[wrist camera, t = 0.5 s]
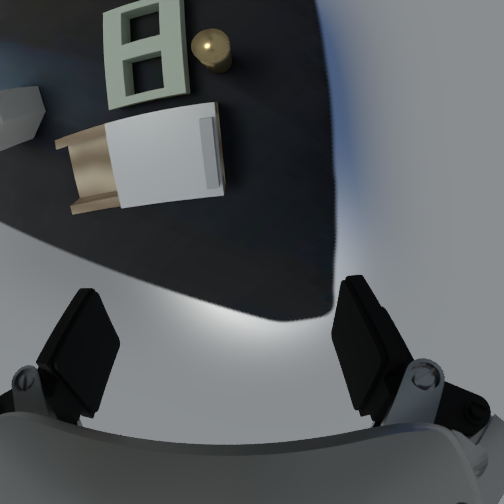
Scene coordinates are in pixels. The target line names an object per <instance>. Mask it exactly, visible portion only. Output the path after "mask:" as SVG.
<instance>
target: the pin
mask: <svg viewBox="0 0 504 504" xmlns="http://www.w3.org/2000/svg"><path fill="white" fill-rule="evenodd" d="M191 49H192V52H193V54H194V55H195V56H196V57H197V58H198V59H199V60H200V61H201V63H202V64H203V65H204V66H205V67H206V68H207V69H208V70H209V71H210V72H212V73H215V74H221V73H224V72H226V71H228V70H229V69H230V67H231V65H232V57H231V50H230V44H229V39H228V37H227V35H226V34H225V33H224V32H222V31H220V30H217V29H206V30H203V31H201V32H199V33H198V34H197V35H196V36H195V37H194V38H193V40H192V43H191Z"/></svg>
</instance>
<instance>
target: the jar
mask: <svg viewBox="0 0 504 504" xmlns="http://www.w3.org/2000/svg"><path fill="white" fill-rule="evenodd" d="M45 112H46V110H45V107H44V104H43V101H42V98H41V94H40V91H39V87H38V86H32V87H22V88H13V89H6V90H0V151H2V150H4V149H7V148H9V147H12V146H14V145H17V144H20V143H22V142H25V141H28V140H31V139H33V138H34V136H35V134H36V132H37V129H38V127H39V125H40V123H41V121H42V118H43V116H44V114H45Z"/></svg>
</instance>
